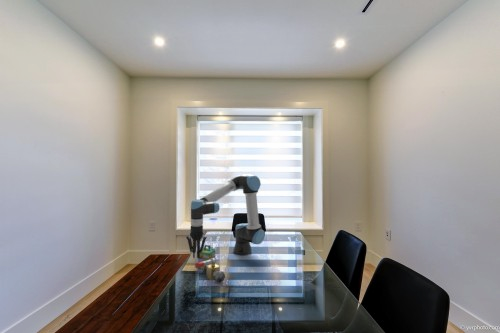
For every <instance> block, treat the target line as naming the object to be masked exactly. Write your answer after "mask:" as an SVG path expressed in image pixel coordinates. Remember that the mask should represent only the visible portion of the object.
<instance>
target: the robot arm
mask: <svg viewBox="0 0 500 333" xmlns="http://www.w3.org/2000/svg"><path fill="white" fill-rule="evenodd" d="M260 188H261V180H260V178H259V176H257V175H255V174H239V175H236V176H234V177H233V178H230V179H229V180H228V181H227V182H226V183H225V184H223V185H222V186H219V187H218V188H217V189H215V190H214V191H211V192H209V193H208V194H207V195H205V196H203V197H201V198H200V199H195V200H192V201H191V202H190V233H189V234H188V235H187V236H186V240H187V243H188V248H189V252H190V253H192V257H193V259H194V262H193V263H194V265H195V263H198V258H199V257H200V252H202V251H203V248H204V246H205V245H206V244H205V242H206V240H207V238H208V236H207V235H205V234H204V226H203V225H204V216H205V215H209V214H210V215H212V214H216V213H218V212H219V211H220V208H221V207H220V203H219V202H217V201H219V200H221V199H222V198H224V197H226V196H227V195H229V194H231V193H232V192H236V191H237V190H238V191H239V190H242V193H243V194H244V195H245V204H246V216H247V223H239V224H236V225H235V243H234V247H233V254H235V255H238V256H248V255H250V254H252V251H253V250H252V247H251V244H253V245H260V244H262V243H263V241H264V240H265V236H266V233H265V231H264V230H263V229H262V224H260V220H259V219H260V218H259V208H258V207H259V206H258V198H257V197H258V196H257V194H258V192H259V189H260ZM201 240H202V242H201Z"/></svg>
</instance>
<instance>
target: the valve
mask: <svg viewBox="0 0 500 333" xmlns="http://www.w3.org/2000/svg"><path fill="white" fill-rule="evenodd" d="M220 269H221V267H220V265H218V264H217V263H216V264H209V265H206V266H204V267H202V269H201V271H202V273H205V274H206V278H208V279H209V280H210V281H215V282H216V283H217V284H222V283H223V282H224V280H225V279H226V273H225V272H224V271H221V270H220Z"/></svg>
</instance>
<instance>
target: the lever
mask: <svg viewBox="0 0 500 333" xmlns="http://www.w3.org/2000/svg"><path fill="white" fill-rule="evenodd" d="M209 264H217V258H216V257H215V258H211V259H210V260H207V261H201V262H198V263H195V264H194V268H195V269H198V268H201V267H204V266H206V265H209Z"/></svg>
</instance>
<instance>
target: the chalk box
mask: <svg viewBox="0 0 500 333" xmlns="http://www.w3.org/2000/svg"><path fill="white" fill-rule="evenodd" d="M211 258H216V249H214V248H211V245H207V244H204V248H203V251H202V252H200V257H199V258H198V262H201V261H207V260H210V259H211ZM197 269H199V270H202V267H201V268H197Z"/></svg>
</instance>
